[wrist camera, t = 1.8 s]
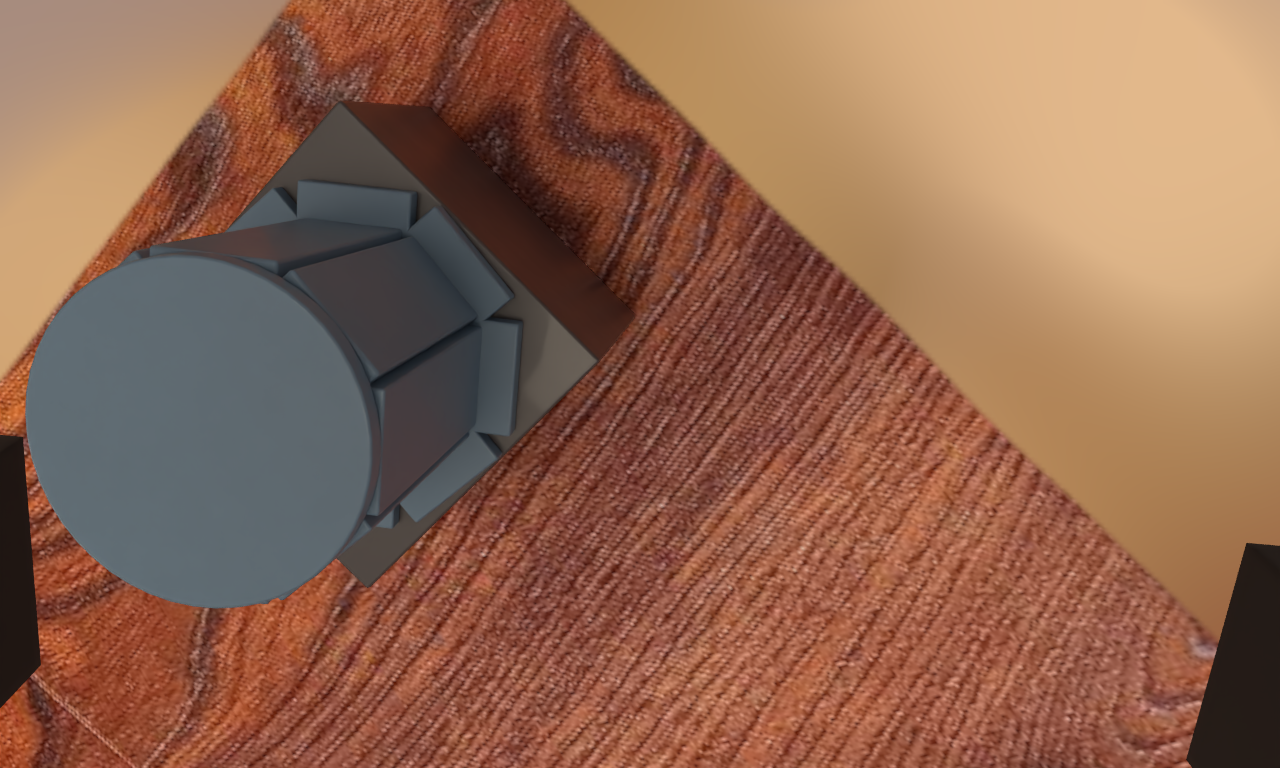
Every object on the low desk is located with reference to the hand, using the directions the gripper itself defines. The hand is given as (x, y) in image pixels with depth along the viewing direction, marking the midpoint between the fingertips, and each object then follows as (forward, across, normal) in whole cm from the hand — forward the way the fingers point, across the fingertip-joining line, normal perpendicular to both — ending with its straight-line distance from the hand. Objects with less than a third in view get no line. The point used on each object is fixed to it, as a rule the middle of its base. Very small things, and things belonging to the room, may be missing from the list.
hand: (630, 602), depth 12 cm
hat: (+20, -8, -4) cm, 22 cm away
